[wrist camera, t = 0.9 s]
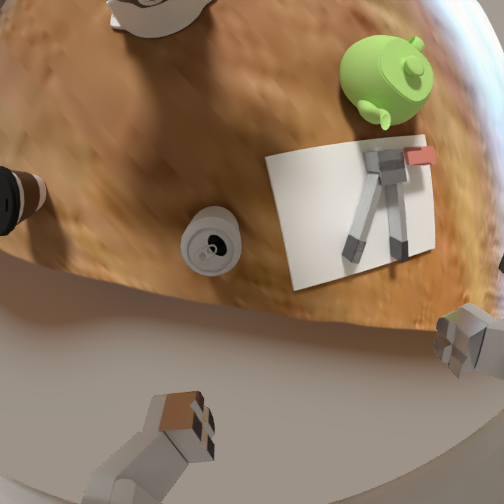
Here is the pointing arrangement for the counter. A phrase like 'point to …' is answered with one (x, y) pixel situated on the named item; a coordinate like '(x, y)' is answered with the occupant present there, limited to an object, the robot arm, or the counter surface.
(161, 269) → the counter surface
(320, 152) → the board
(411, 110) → the teapot
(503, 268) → the smartphone
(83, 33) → the counter surface
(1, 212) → the coffee cup
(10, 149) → the counter surface
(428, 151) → the lock tab
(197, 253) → the can
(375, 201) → the tongs arm
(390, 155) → the tongs fixed
